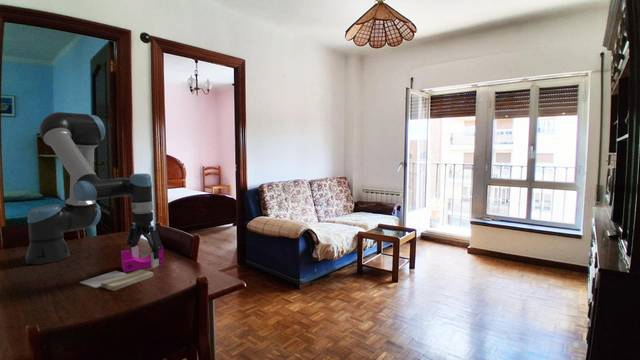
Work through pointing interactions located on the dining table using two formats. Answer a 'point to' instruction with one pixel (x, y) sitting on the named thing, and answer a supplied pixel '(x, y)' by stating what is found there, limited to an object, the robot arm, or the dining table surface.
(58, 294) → the dining table surface
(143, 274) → the board
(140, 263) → the toy block
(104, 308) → the dining table surface
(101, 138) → the robot arm
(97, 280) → the mat
